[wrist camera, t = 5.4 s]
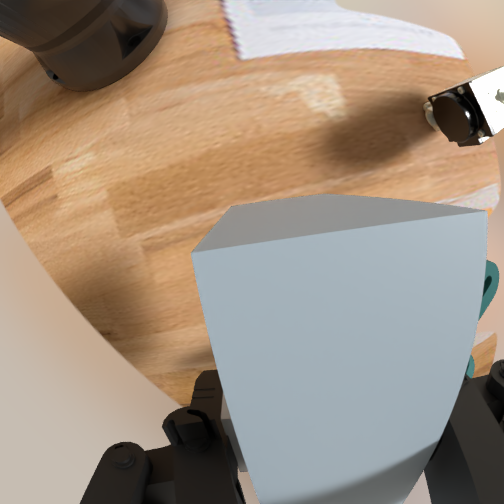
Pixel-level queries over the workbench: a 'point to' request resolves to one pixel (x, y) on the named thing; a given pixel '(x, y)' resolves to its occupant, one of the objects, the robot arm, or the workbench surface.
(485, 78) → the pneumatic valve
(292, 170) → the workbench surface
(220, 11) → the workbench surface
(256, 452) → the door panel
